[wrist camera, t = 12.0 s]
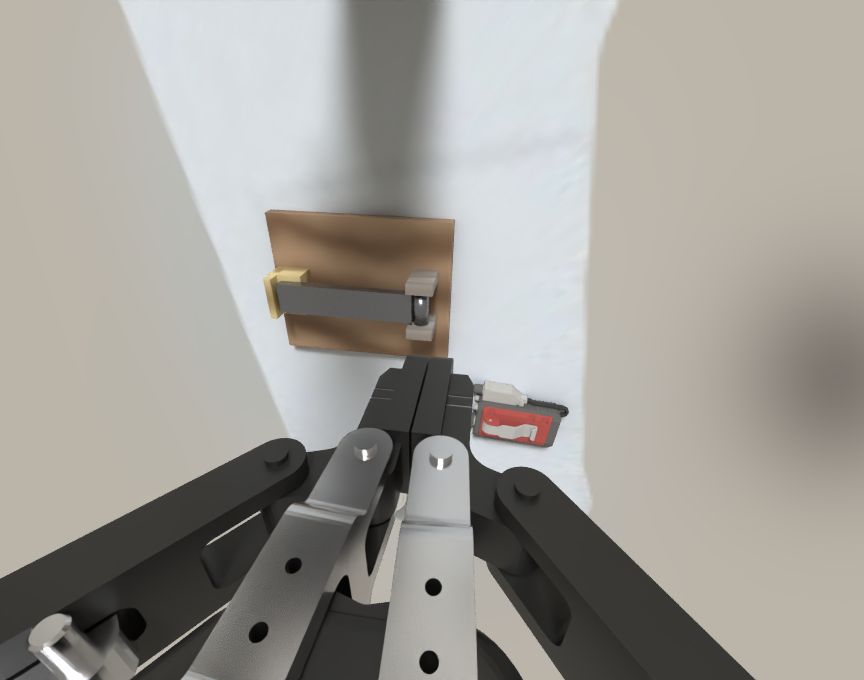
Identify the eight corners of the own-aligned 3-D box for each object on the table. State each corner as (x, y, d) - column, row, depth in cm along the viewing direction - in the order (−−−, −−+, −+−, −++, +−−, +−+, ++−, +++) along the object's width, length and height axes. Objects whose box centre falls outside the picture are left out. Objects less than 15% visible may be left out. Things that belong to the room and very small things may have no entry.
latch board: (271, 209, 47) (241, 222, 41) (454, 219, 45) (449, 235, 39) (294, 339, 56) (272, 364, 51) (447, 353, 54) (442, 381, 48)
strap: (281, 279, 47) (274, 285, 45) (430, 291, 45) (427, 297, 43) (286, 307, 49) (280, 313, 47) (429, 319, 47) (427, 326, 45)
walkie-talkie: (571, 391, 54) (429, 369, 56) (577, 412, 51) (424, 387, 52) (555, 437, 59) (424, 416, 60) (560, 459, 55) (419, 436, 57)
